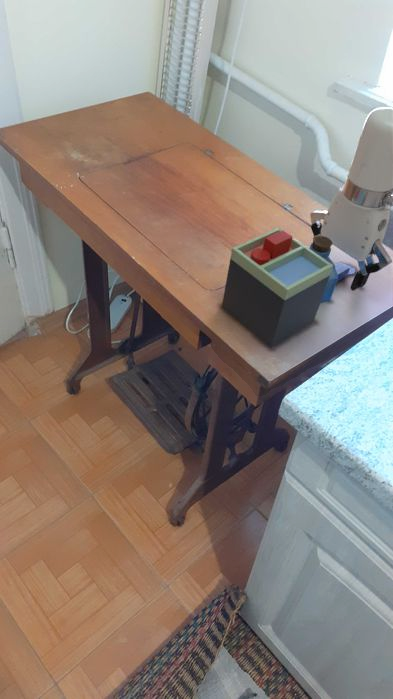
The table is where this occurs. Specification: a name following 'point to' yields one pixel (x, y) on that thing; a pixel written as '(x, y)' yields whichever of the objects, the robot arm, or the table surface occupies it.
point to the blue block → (344, 270)
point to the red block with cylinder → (272, 247)
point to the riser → (269, 306)
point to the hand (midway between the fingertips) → (335, 272)
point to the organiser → (283, 266)
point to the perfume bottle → (323, 249)
